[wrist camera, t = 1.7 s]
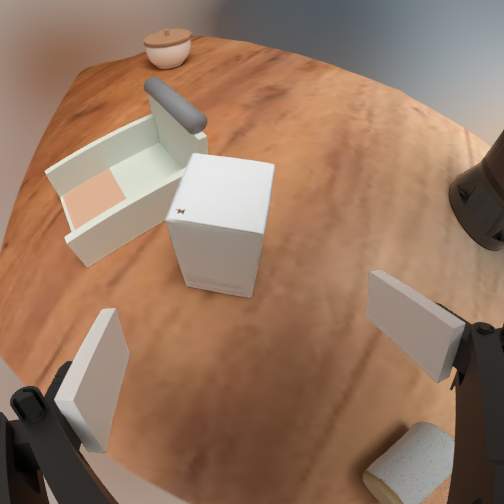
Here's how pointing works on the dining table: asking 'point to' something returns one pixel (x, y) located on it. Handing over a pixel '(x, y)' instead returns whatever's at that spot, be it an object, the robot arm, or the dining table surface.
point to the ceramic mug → (411, 466)
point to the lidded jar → (168, 47)
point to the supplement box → (221, 222)
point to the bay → (128, 175)
